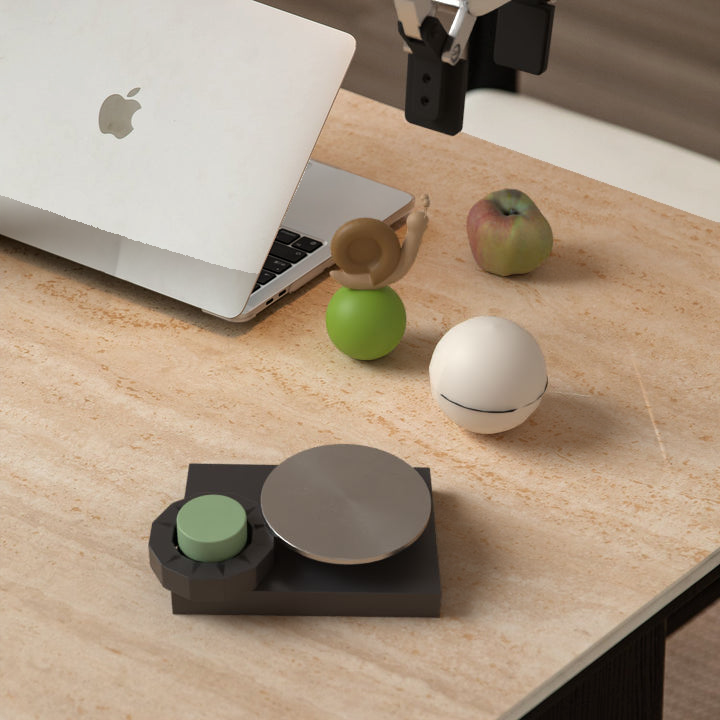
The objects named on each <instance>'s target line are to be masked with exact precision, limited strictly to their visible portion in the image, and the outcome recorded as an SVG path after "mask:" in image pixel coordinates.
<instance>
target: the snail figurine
mask: <svg viewBox="0 0 720 720" xmlns="http://www.w3.org/2000/svg"><path fill="white" fill-rule="evenodd" d="M420 199H421V201H422V202H421V204H422V207H424V208H423V211H419V210H417V211H413V212H411V213H410V214H409V215H408V216H407V218H406V228H407V230H406V235H405V236H404V239H403V241H402V244H401V242H400V237H398V235H397V233H396V231H395V230H394V229H393V228H392V226H390V225H389V224H387V223H386V222H384V221H382V220H381V219H378V218H375V217H374V218H373V217H357V218H352V219H350V220H349V221H346V222H344V223H343V224H342V225H341V226H339V227H338V229H337V230H335V232H334V234H333V235H332V238H331V241H330V247H329V252H330V257H331V258H332V261H333V262H334V263H335V264H336V266H337V267H339V269H341V270H330V271H329V276H330V277H331V278H332V279H333V280H334V281H335V282H336V283H337V284H339V285H340V286H341V287H340V288H339V289H337V291H335V293H333V295H332V296H331V297H330V300H329V302H328V304H327V307H326V311H325V327H326V332H327V335H328V337H329V339H330V341H331V342H332V344H333V345H334V346H335V347H336V349H337V350H339V351H340V352H341V353H343V354H344V355H345V356H348V357H350V358H352V359H355V360H358V361H359V360H360V361H373V360H377V359H380V358H383V357H384V356H386V355H388V354H390V353H391V352H392V351H393V350H395V349H396V348H397V346H398V345H399V344H400V342H401V341H402V340H403V338H404V335H405V333H406V329H407V321H408V319H407V318H408V317H407V310H406V307H405V304H404V301H403V300H402V298H401V296H400V295H399V294H398V292H396V290H395V289H393V288H392V287H391V286H390V285H392V284H394V283H397V282H399V281H400V280H402V279H403V278H404V277H405V276H406V275H408V273H409V272H410V270H411V268H412V267H413V265H414V263H415V261H416V259H417V256H418V254H419V251H420V249H421V245H422V243H423V238H424V234H425V232H426V230H427V229H428V227H429V226H428V223H429V222H430V218H429V216H428V215H427V214H428V208H430V206H431V200H430V195H429V194H428V193H423V194H421V197H420Z"/></svg>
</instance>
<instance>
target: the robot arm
mask: <svg viewBox="0 0 720 720" xmlns="http://www.w3.org/2000/svg"><path fill="white" fill-rule="evenodd" d="M556 2H557V0H393V4H394V7H395V10H396V11H395V12H396V15H397V18H398V20H397V31H398V33H399V35H400V37H401V38H402V40H403V41H402V49H403V52H405V53H407V67H406V82H405V83H406V84H405V99H404V100H405V101H404V119H405V120H406V122H408V123H409V124H411V125H414V126H417V127H421V128H424V129H427V130H431V131H434V132H437V133H440V134H443V135H446V136H450V137H454V136H456V135H458V134H459V133H461V132H462V131H463V127H464V120H465V119H464V118H465V107H466V94H467V83H468V74H469V63H470V61H469V60H467V59H465V58H462V55H463V53H464V51H465V48H466V45H467V43H468V40H469V38H470V36H471V33H472V31H473V28H474V25H475V24H476V21H477V18H478V17H481V16H484V15H486V14H488V13H490V12H492V11H495V10H496V9H497V17H496V20H497V21H496V30H495V38H494V47H493V48H494V49H493V61H494V63H495V64H496V65H498V66H501V67H505V68H508V69H513V70H516V71H519V72H523V73H527V74H530V75H534V76H541V75H542V74H544V73H545V72H546V71H547V70H548V66H549V58H550V51H551V43H552V35H553V29H554V28H553V27H554V21H555V20H554V19H555V12H556V5H555V4H554V3H556ZM551 3H552V4H551ZM438 11H439V12H444V13H447V14H451V15H455V17H454V19H453V22H452V24H451V26H450V29H449V31H448V32H447V30H446V29H445V27H444V26H443V24H442V23H441V21H440V19H439V18H438V17H436V14H437V12H438Z"/></svg>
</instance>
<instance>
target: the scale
mask: <svg viewBox="0 0 720 720" xmlns="http://www.w3.org/2000/svg"><path fill="white" fill-rule="evenodd" d="M278 465H279V464H257V463H256V464H254V463H253V464H251V463H249V464H248V463H240V464H239V463H199V462H198V463H197V462H196V463H195V462H194V463H193V462H190V463H189V464H188V469H187V474H186V484H185V489H184V491H185V492H184V495H183V496H184V497H183V498H182V499H179V500H176V501H172V503H170V504H169V505H168V506H167V507H166V508H165V509H164V510H163V511H162V512H161V513H160V514H159V515H158V516H157V517H156V518H155V519H154V520H153V521H152V522H151V526H150V532H149V538H148V543H147V544H148V545H147V547H148V559H149V567H150V569H151V570H152V572H153V574H154V575H155V577H156V578H157V580H158V582H159V583H160V584H161V586H162V587H163V588H164V589H165V590H167V591H170V597H171V611H172V612H171V613H172V615H176V616H177V615H178V616H179V615H181V616H182V615H185V616H186V615H187V616H189V615H190V616H252V617H253V616H254V617H255V616H261V617H264V616H265V617H267V616H268V617H331V618H332V617H333V618H339V617H341V618H342V617H343V618H408V619H409V618H411V619H412V618H415V619H416V618H418V619H423V618H424V619H425V618H426V619H438V618H440V615H441V606H442V594H443V591H442V582H441V581H442V579H441V572H440V571H441V570H440V561H439V560H440V559H439V549H438V540H437V528H436V518H435V507H434V496H433V486H432V484H433V483H432V474H431V467H429V466H428V467H427V466H426V467H425V466H424V467H423V466H412V467H413V468H414V469H415V470H416V471H417V472H418V473H419V475H420V476H421V477H422V478H423V480H424V482H425V483H426V485H427V488H428V490H429V493H430V498H431V511H430V517H429V521H428V523H427V525H426V528H425V529H424V531H423V532H422V534H421V535H420V536H419V537H418V538H417V540H416V541H415V542H413V543H412V544H411V545H410V546H409V547H407V548H406V549H404V550H403V551H401V552H399V553H397V554H395V555H393V556H391V557H388V558H385V559H382V560H379V561H374V562H370V563H363V564H347V565H346V564H333V563H326V562H321V561H317V560H314V559H310V558H308V557H305V556H302V555H300V554H298V553H296V552H294V551H292V550H291V549H289V548H288V547H286V546H285V545H283V544H282V543H281V542H280V541H279V540H277V539H276V538H275V536H274V535H273V534H272V533H271V532H270V530H269V529H268V527H267V526H266V524H265V522H264V519H263V517H262V512H261V492H262V488H263V486H264V483H265V481H266V479H267V478H268V476H269V475H270V473H271V472H272V471H273V470H274V469H275V468H276V467H277V466H278ZM205 495H222V496H226V497H229V498H232V499H234V500H236V501H237V502H238V503H240V504H241V506H242V507H243V508H244V510H245V512H246V517H247V541H246V544H245V546H244V548H243V549H242V550H241V552H240V553H239V554H237V555H236V556H234V557H233V558H231V559H229V560H226V561H223V562H218V563H204V562H199V561H196V560H193V559H191V558H189V557H188V556H186V555H185V554H184V553H183V551H182V550H181V549H180V547H179V544H178V533H177V516H178V513H179V511H180V510H181V508H182V507H183V506H184V505H185V504H186V503H188V502H189V501H191V500H193V499H195V498H197V497H201V496H205Z"/></svg>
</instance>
